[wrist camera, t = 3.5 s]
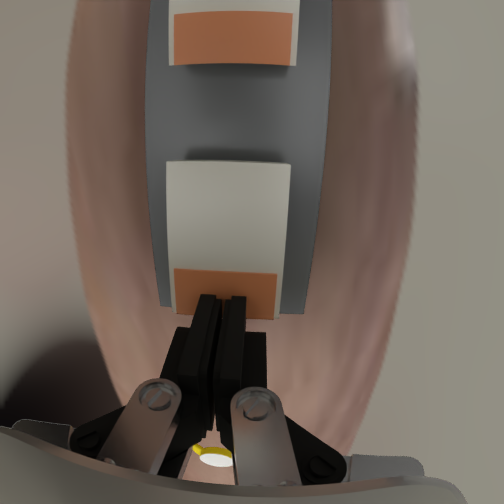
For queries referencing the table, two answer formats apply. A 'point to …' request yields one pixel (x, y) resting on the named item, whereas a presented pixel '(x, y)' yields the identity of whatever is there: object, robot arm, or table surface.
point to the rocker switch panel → (242, 131)
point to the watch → (214, 455)
